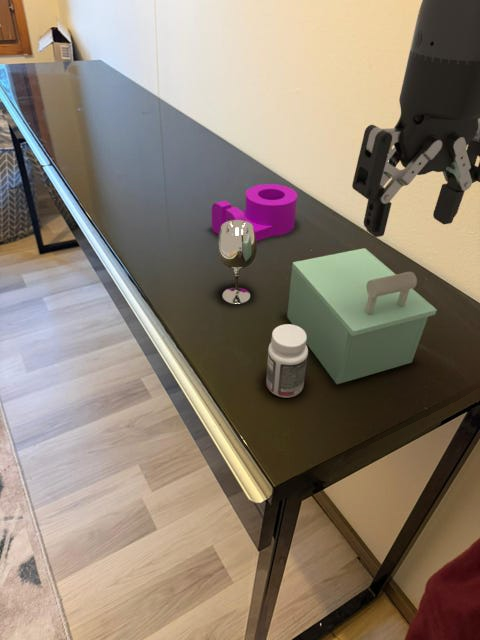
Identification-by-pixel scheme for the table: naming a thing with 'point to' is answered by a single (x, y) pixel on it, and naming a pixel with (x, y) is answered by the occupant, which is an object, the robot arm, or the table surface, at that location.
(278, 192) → the tape dispenser
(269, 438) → the table surface
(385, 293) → the bin lid
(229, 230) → the wineglass
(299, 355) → the pill bottle
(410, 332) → the bin
